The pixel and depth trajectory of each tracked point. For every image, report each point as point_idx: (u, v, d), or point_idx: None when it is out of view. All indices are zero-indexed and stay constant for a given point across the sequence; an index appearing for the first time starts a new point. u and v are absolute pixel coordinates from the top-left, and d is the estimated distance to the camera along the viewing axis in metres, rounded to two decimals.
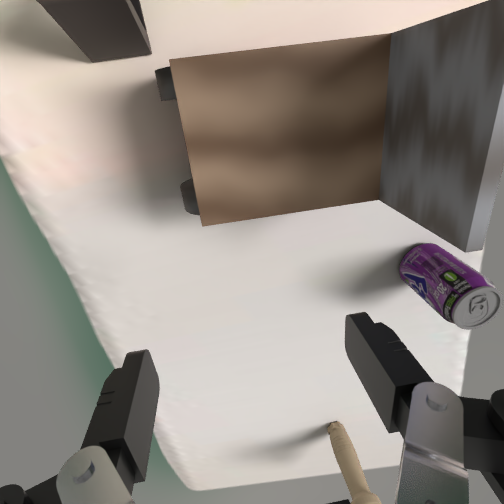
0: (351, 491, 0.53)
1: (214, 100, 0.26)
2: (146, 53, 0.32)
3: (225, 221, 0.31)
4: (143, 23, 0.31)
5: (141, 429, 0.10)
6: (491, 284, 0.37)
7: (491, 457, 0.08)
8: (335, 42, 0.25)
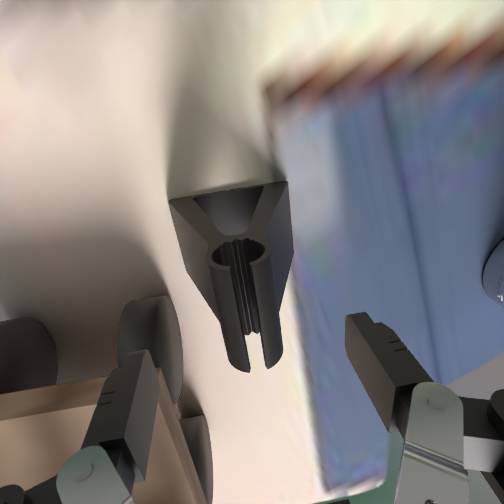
0: None
1: None
2: (185, 267, 0.25)
3: None
4: None
5: (141, 430, 0.10)
6: None
7: (491, 457, 0.08)
8: None
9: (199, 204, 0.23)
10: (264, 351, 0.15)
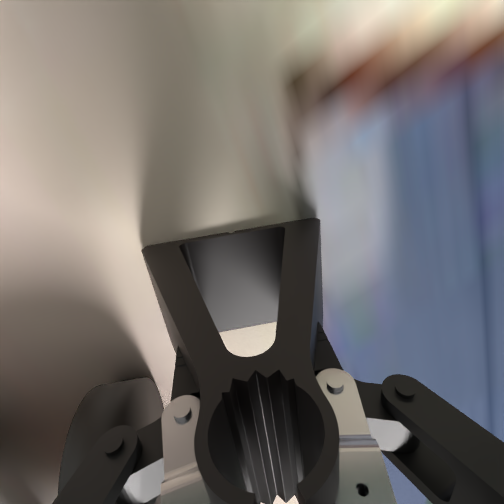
0: None
1: None
2: (170, 338, 0.18)
3: None
4: None
5: None
6: None
7: (381, 436, 0.09)
8: None
9: (189, 253, 0.16)
10: None
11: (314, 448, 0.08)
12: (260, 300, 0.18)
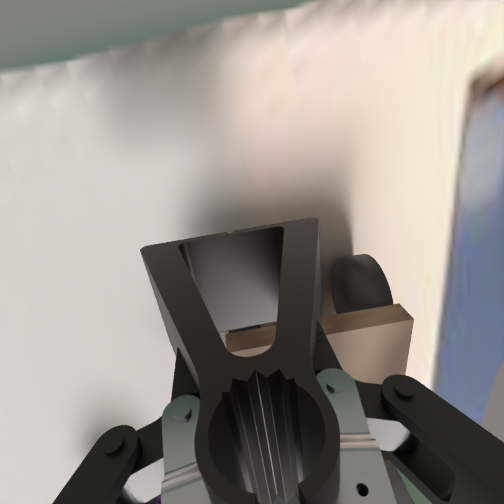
0: None
1: (370, 356, 0.24)
2: (169, 338, 0.18)
3: None
4: None
5: None
6: None
7: (381, 435, 0.09)
8: None
9: (188, 253, 0.16)
10: None
11: (314, 448, 0.08)
12: (259, 299, 0.18)
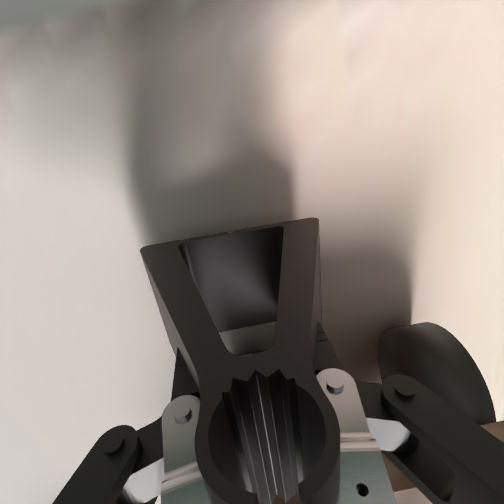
0: None
1: None
2: None
3: None
4: None
5: None
6: None
7: (381, 436, 0.09)
8: None
9: (187, 253, 0.16)
10: None
11: (314, 447, 0.08)
12: (259, 299, 0.18)
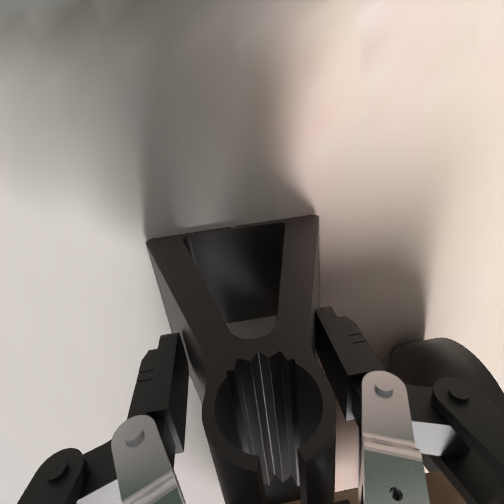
0: None
1: None
2: (171, 329, 0.18)
3: None
4: None
5: (179, 405, 0.11)
6: None
7: (433, 440, 0.09)
8: None
9: (191, 246, 0.16)
10: None
11: (312, 425, 0.08)
12: (259, 293, 0.18)
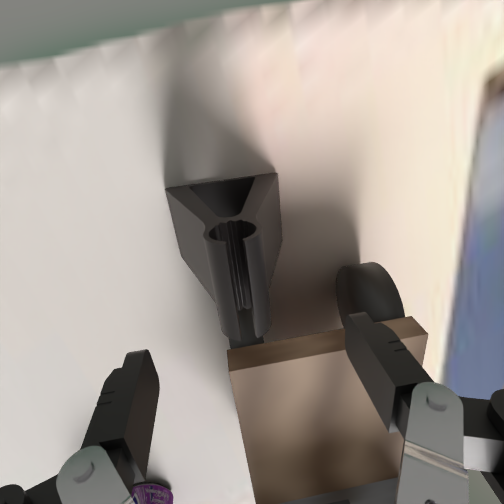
0: None
1: None
2: (180, 252, 0.27)
3: (235, 394, 0.22)
4: None
5: (141, 429, 0.10)
6: None
7: (491, 457, 0.08)
8: None
9: (194, 193, 0.25)
10: (254, 321, 0.17)
11: None
12: None
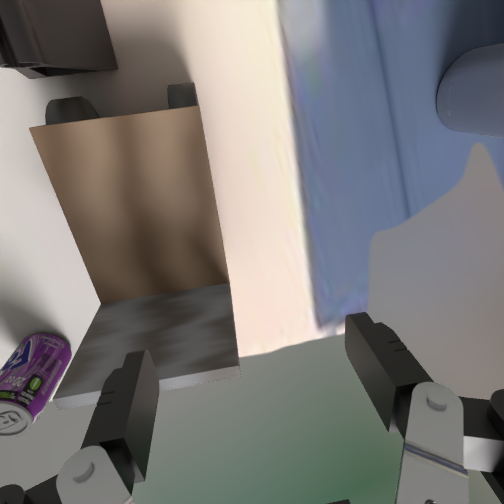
0: None
1: (169, 147, 0.28)
2: None
3: (42, 156, 0.27)
4: (55, 74, 0.32)
5: (141, 430, 0.10)
6: (35, 419, 0.39)
7: (491, 457, 0.08)
8: (221, 245, 0.33)
9: None
10: (11, 44, 0.22)
11: None
12: None
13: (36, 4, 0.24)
